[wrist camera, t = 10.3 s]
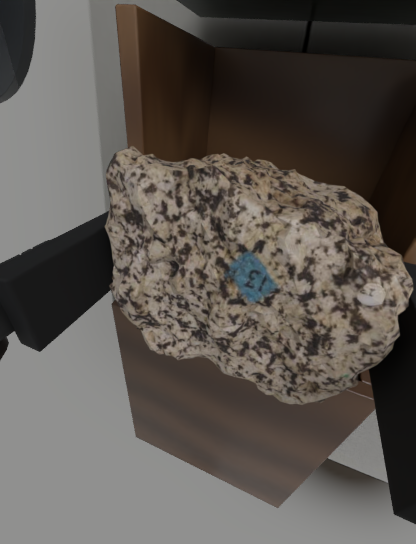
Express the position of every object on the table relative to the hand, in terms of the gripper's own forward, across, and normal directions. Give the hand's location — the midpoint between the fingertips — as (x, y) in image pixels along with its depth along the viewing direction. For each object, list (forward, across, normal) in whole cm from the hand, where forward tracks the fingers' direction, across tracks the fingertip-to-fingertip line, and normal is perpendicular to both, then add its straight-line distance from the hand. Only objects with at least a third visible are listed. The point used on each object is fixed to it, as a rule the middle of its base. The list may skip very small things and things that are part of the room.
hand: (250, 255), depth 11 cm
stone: (0, 0, 0) cm, 0 cm away
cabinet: (+10, 0, -14) cm, 17 cm away
